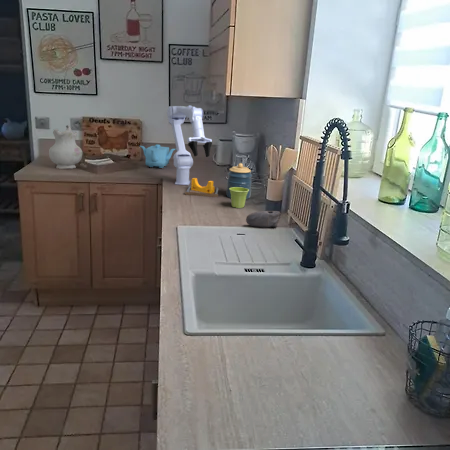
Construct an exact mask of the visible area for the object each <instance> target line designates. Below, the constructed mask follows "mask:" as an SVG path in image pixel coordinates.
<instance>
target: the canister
mask: <svg viewBox="0 0 450 450" xmlns="http://www.w3.org/2000/svg"><path fill="white" fill-rule="evenodd" d="M228 169H229V172H227V173H226V174H227V176H228V177H227V179H226V191H225V194H226V197H227V198H229V199H231V193H230V190H229V188H232V187H242V188H246V189H249V191H248V193H247V196H246V200H249V199H250V198H251V194H252V192H251V191H252V190H251V189H252V177H253V174H252V173H251V172H252V170H251V169H249V167H247V166H244V164H243V163H242V162H239V163H238V165H236V166H234V165H233V166H232V167H230V168H228Z"/></svg>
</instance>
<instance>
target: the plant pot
mask: <svg viewBox="0 0 450 450" xmlns="http://www.w3.org/2000/svg"><path fill="white" fill-rule="evenodd" d="M229 190H230V193H231V198H230V201H231V207H232V208H236V209H242V208H244V207H245V204H246V200H247V199H246V196H247V193H248V191H249V189H246V188H242V187H232V188H229Z"/></svg>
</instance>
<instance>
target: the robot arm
mask: <svg viewBox="0 0 450 450" xmlns="http://www.w3.org/2000/svg"><path fill="white" fill-rule="evenodd" d="M166 114H167V115H166V116H167V120H168V123H169V124H171V131H172V134H173V139H174V143H175V149H176V152H175V153H174V155H173V158H172V159H173V166H174V167H175V168H176V177H175V179H176V181H175V182H174V185H178V186H179V185H182V186H183V185H184V186H189V185H191V184H190V183H191V180H190V169H192V167H193V165H194V159H193V157H192V154H193V156H194V157H197V156H198V154H199V153H198V144H203V145H202V147H203V149H204V154H205V157H206V158H208V157H210V152H211V148H212V145H213V142H212V141H213V140H212V138H208V137H206V136H205V130H204V124H203V123H204V122H203V118H204V110H203V108H201V107H196V106H192V105H188V106H183V105H170V106H168V107H167V112H166ZM186 118H188V119H189V121H190V124H191V130H192V135H193V136H192V137H187V138H186V142H187V146H188V147H189V148H190V149H191V151H192V154H191V152H189V151H188V150H187V149H186V144H185V139H184V135H183V131H182V126H181V125H183V124H184V122H185V119H186Z"/></svg>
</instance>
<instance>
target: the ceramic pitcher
mask: <svg viewBox="0 0 450 450" xmlns="http://www.w3.org/2000/svg"><path fill="white" fill-rule="evenodd" d="M65 127H66V129H65V131H63V130H62V131H59V128H54V129H53V130H52V131H53V132H52V134H53V136H54V141H55V142H54V144H53V145H52V146H50V148H49V149H48V156H49V159H50V161H51V162H52V163H53V164H55V165H56V166H55V167H56V169H57V168H59V169H58V170H65V169H67V170H68V169H71V170H73V169H75V168H76V167H77V166H76V164H78V163H80V162H81V160H82V158H83V150H82V148H81V147H80V146H79V145H77V142H76V137H77V136H78V133H77V132H76V131H75V132H73V131H72V128H71V126H70V125H69V124H67V125H65Z"/></svg>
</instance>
